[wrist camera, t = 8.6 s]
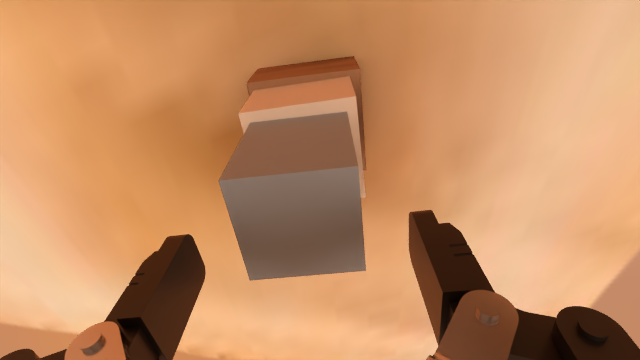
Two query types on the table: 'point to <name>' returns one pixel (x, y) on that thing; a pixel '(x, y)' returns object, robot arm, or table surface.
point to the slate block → (296, 197)
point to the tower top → (306, 107)
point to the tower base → (313, 73)
